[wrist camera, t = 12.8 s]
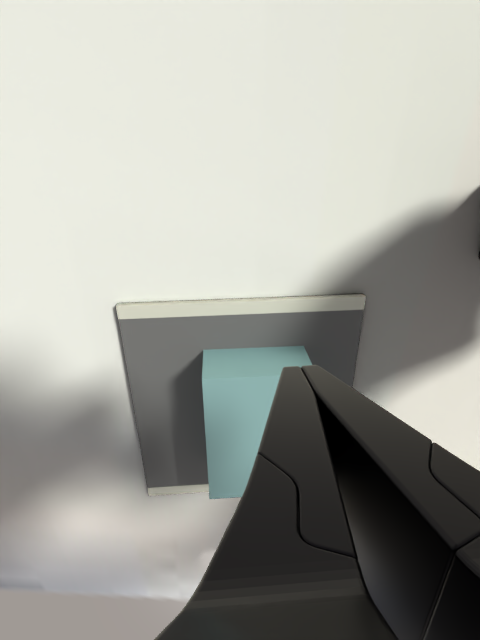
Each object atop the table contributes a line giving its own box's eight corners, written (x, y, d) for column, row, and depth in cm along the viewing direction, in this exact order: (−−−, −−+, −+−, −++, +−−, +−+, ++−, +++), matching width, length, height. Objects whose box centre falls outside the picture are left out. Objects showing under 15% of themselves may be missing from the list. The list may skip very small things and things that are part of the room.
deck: (203, 349, 21) (303, 345, 22) (209, 461, 25) (294, 456, 26) (201, 379, 19) (316, 374, 19) (209, 499, 23) (304, 493, 23)
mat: (363, 293, 21) (366, 296, 21) (336, 478, 27) (338, 483, 27) (117, 302, 20) (115, 306, 20) (149, 490, 27) (148, 496, 26)
